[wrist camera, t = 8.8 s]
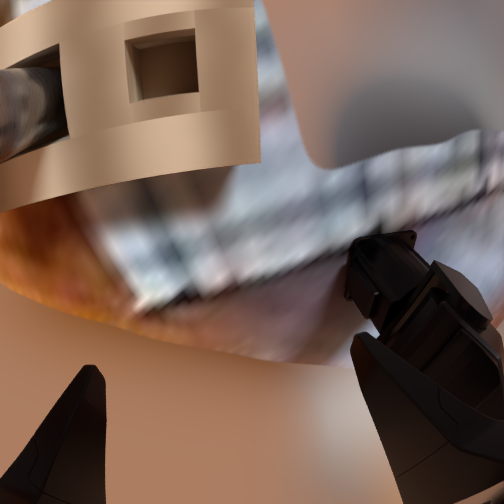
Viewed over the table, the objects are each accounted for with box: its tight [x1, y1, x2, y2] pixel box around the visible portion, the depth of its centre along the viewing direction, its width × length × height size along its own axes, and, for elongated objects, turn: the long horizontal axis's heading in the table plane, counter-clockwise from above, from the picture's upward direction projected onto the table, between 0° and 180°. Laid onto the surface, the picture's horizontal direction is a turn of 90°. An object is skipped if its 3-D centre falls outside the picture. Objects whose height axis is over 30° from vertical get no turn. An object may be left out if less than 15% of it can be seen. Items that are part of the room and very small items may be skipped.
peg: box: [0, 67, 68, 163], centre depth 8 cm, size 4×4×10 cm
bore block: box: [0, 0, 261, 213], centre depth 11 cm, size 15×10×4 cm, turn 93°
